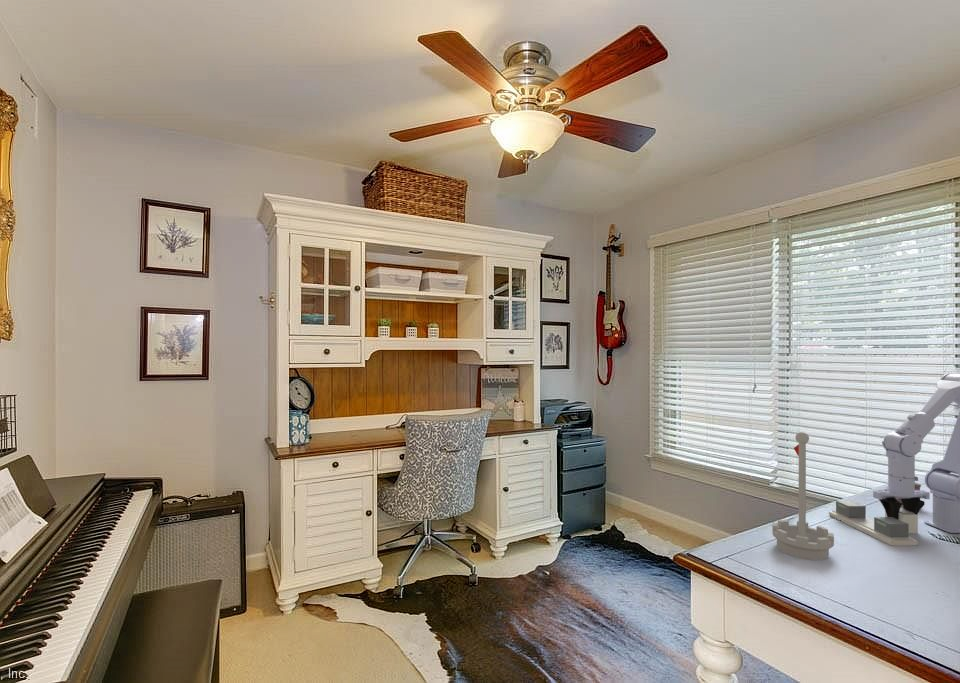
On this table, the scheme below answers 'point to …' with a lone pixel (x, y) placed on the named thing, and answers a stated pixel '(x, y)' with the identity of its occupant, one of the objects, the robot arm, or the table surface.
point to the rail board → (873, 523)
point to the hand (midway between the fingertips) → (901, 524)
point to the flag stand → (802, 521)
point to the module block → (908, 519)
